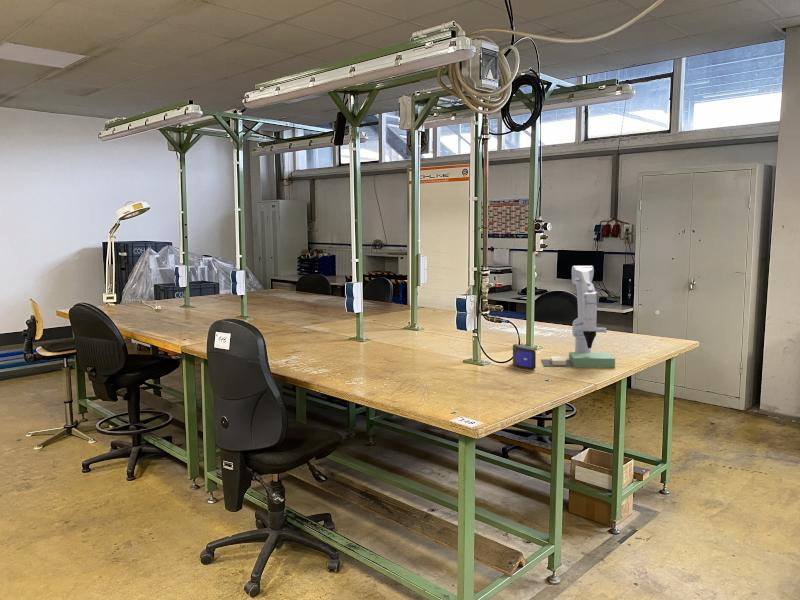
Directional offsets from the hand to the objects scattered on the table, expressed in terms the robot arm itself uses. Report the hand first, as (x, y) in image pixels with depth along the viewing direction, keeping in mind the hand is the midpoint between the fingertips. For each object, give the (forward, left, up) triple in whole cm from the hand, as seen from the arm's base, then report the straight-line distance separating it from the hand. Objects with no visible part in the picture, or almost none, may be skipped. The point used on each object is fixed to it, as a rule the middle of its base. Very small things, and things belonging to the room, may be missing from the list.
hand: (589, 347), depth 281 cm
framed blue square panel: (+8, -30, -8) cm, 32 cm away
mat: (0, -15, -7) cm, 16 cm away
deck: (0, +1, -7) cm, 7 cm away
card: (0, -14, -5) cm, 15 cm away
